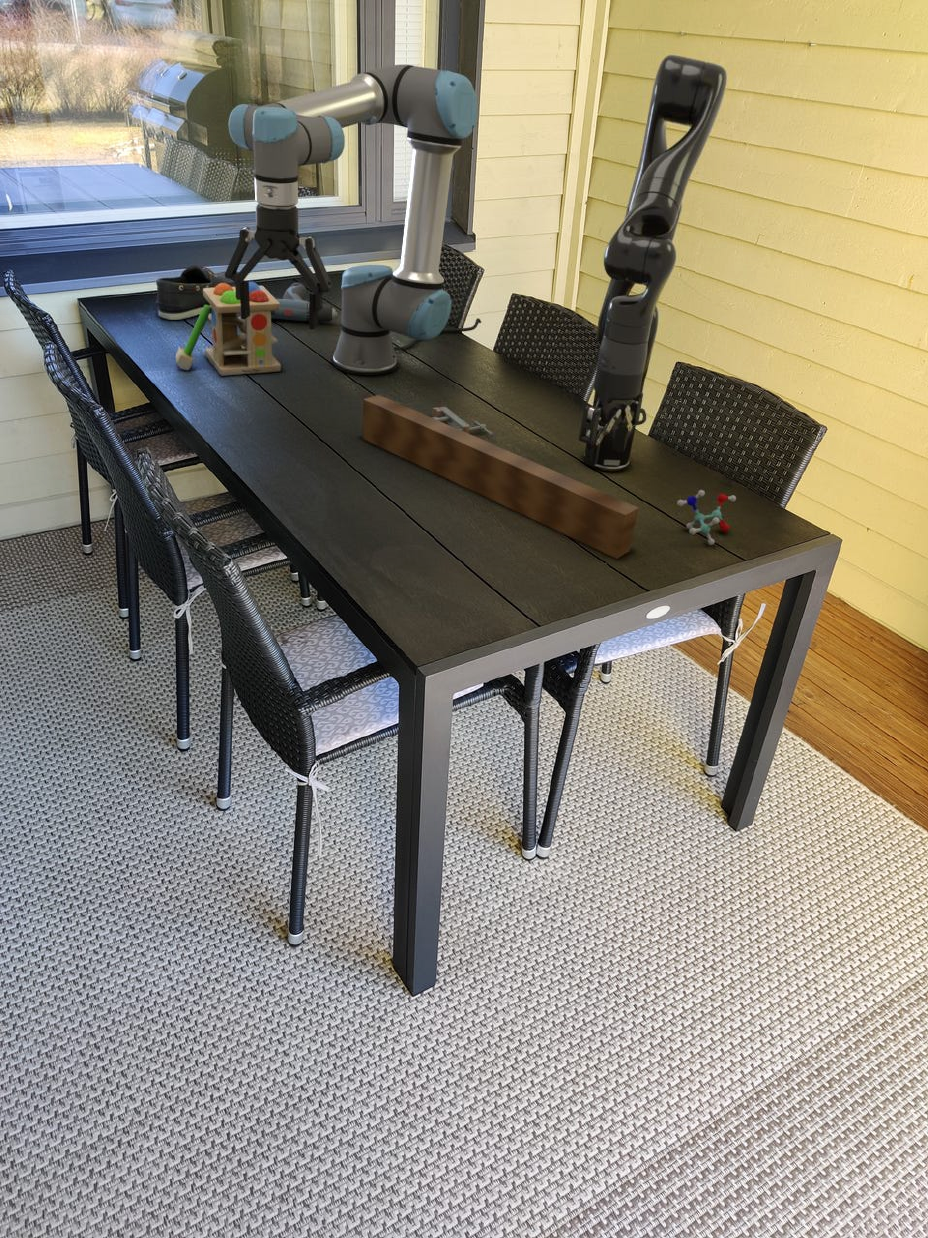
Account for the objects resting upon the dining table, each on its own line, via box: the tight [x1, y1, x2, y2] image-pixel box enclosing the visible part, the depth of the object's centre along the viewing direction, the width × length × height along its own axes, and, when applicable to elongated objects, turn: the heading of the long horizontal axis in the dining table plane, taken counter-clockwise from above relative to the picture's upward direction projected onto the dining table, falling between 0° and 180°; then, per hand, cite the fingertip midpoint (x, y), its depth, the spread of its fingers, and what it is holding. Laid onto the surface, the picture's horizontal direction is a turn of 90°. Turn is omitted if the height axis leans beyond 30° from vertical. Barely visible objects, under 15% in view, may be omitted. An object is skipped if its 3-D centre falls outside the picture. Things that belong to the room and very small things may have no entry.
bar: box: [362, 394, 639, 560], centre depth 185 cm, size 64×4×9 cm, turn 49°
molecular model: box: [676, 489, 737, 546], centre depth 179 cm, size 12×10×10 cm
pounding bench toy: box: [174, 281, 282, 377], centre depth 225 cm, size 23×14×18 cm, turn 116°
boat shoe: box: [155, 264, 240, 321], centre depth 263 cm, size 13×33×10 cm, turn 147°
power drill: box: [271, 282, 338, 322], centre depth 265 cm, size 5×19×20 cm
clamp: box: [431, 406, 495, 438], centre depth 210 cm, size 15×2×10 cm
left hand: (279, 322), depth 188 cm, fingers open, 13 cm apart
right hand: (604, 457), depth 166 cm, fingers open, 8 cm apart
